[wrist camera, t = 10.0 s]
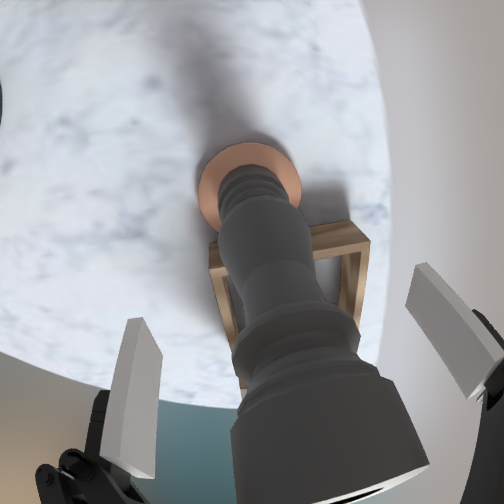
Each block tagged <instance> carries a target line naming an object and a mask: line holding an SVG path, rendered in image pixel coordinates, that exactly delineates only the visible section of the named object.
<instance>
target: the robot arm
mask: <svg viewBox="0 0 504 504" xmlns="http://www.w3.org/2000/svg"><path fill="white" fill-rule="evenodd" d="M1 115H2V94H1V87H0V123H1ZM405 307H406V308H407V309H408V311H409V312H410V313H411V315H412V316H413V318H414V319H415V320H416V322H417V323H418V325H419V326H420V327H421V329H422V330H423V332H424V333H425V335H426V336H427V338H428V339H429V340H430V342H431V343H432V345H433V346H434V348H435V349H436V351H437V352H438V354H439V355H440V357H441V358H442V360H443V361H444V363H445V365H446V366H447V367H448V369H449V371H450V372H451V374H452V376H453V377H454V379H455V381H456V382H457V384H458V385H459V387H460V389H461V390H462V392H463V394H464V395H465V397H466V399H468V398H470V397H471V396H473V395H474V394H476V393H477V392H478V391H479V390H480V389H481V388H482V387H483V385H484V386H485V387H486V389H485V390H484V391H483V392H482V393H481V395H480V396H479V397H478V398H477V401H476V402H477V403H478V402H479V401H480V400H481V399H482V398H483V400H482V401H481V403H482V412H481V420H480V427H479V433H478V438H477V443H476V448H475V453H474V457H473V461H472V465H471V469H470V473H469V477H468V480H467V483H466V487H465V490H464V493H463V496H462V499H461V502H460V504H504V340H503V338H502V337H501V336H500V335H499V333H498V332H497V331H496V330H494V327H493V326H492V325H491V324H489V321H488V320H487V319H486V318H485V316H484V315H483V314H481V313H480V312H478V311H477V310H475V309H474V310H471V309H470V308H469V307H468V306H467V305H466V304H465V302H464V301H463V300H462V299H461V298H460V297H459V296H458V295H457V294H456V292H455V291H454V290H453V289H452V288H451V287H450V286H449V285H448V284H447V283H446V282H445V281H444V280H443V279H442V278H441V276H440V275H439V274H438V273H437V272H436V271H435V270H434V269H433V268H432V267H431V266H430V265H429V264H428V263H427V262H426V263H422V264H418V265H415V269H414V274H413V278H412V282H411V286H410V290H409V294H408V297H407V301H406V305H405ZM162 359H163V355H162V353H161V351H160V349H159V347H158V346H157V344H156V342H155V340H154V338H153V336H152V334H151V332H150V330H149V328H148V326H147V325H146V323H145V321H144V319H143V317H141V318H133V319H128V321H127V324H126V328H125V332H124V335H123V339H122V343H121V347H120V351H119V355H118V359H117V363H116V367H115V372H114V376H113V381H112V385H111V390H100V392H99V393H98V395H97V397H96V398H95V400H94V404H93V409H92V414H91V418H90V421H91V422H90V423H89V428H88V434H87V439H86V445H85V451H84V453H83V452H81V451H80V450H78V449H72V448H71V449H68V450H66V451H65V452H63V454H62V455H61V457H60V459H59V468H55V467H53V466H51V465H49V464H42V465H41V466H39V468H38V469H37V470H36V474H35V478H36V485H37V489H38V493H39V497H40V501H41V504H150V503H149V502H148V500H147V499H146V498H145V497H144V496H143V494H142V493H141V492H140V491H139V490H138V488H137V487H136V486H135V485H134V483H133V482H132V481H131V480H130V476H131V475H130V474H132V475H133V476H135V477H137V478H149V479H155V445H156V427H157V411H158V399H159V388H160V378H161V368H162Z"/></svg>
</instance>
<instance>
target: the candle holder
mask: <svg viewBox="0 0 504 504" xmlns="http://www.w3.org/2000/svg"><path fill="white" fill-rule="evenodd" d="M218 212H219V218H220V220H221V222H222V224H221V228H220V231H219V235H218V247H219V252H220V257H221V260H222V262H223V264H224V266H225V268H226V270H227V272H228V274H229V276H230V278H231V280H232V282H233V284H234V286H235V288H236V290H237V292H238V294H239V296H240V298H241V300H242V302H243V310H244V319H245V328H244V329H243V330H242V331H241V332H240V333H239V335H238V337H237V340H236V343H235V345H234V348H233V351H232V363H233V367H234V370H235V374H236V376H237V377H239V378H240V379H241V380H242V381H243V382H245V383H246V384H247V385H248V388H247V393H246V395H245V397H244V398H243V400H242V402H241V404H240V406H239V408H238V410H237V413H238V419H237V420H236V422H235V424H234V425H233V427H232V429H231V430H230V432H231V445H232V457H233V468H234V478H235V488H236V497H237V504H351V503H354V502H357V501H360V500H363V499H365V498H369V497H371V496H374V495H376V494H378V493H381V492H383V491H386V490H388V489H390V488H392V487H395V486H396V485H399V484H401V483H403V482H405V481H406V480H408V479H410V478H412V477H414V476H416V475H417V474H419V473H420V472H422V471H423V470H425V469H426V468H428V467H429V464H430V463H429V461H428V458H427V456H426V453H425V451H424V449H423V446H422V444H421V442H420V439H419V437H418V435H417V433H416V430H415V428H414V426H413V423H412V421H411V419H410V416H409V414H408V412H407V410H406V408H405V406H404V403H403V401H402V399H401V397H400V395H399V393H398V391H397V389H396V387H395V385H394V383H393V381H391V380H389V379H386V378H384V377H381V376H380V374H379V371H378V369H377V367H375V366H373V365H372V364H369V363H367V362H365V361H363V360H361V359H360V358H359V357H358V355H357V354H356V353H357V350H358V346H359V341H360V337H361V335H360V333H359V330H358V328H357V325H356V323H355V321H354V319H353V317H352V316H351V315H350V314H349V313H347V312H346V311H344V310H343V309H341V308H340V307H338V306H336V305H335V304H333V303H327V302H326V300H325V298H324V295H323V293H322V291H321V289H320V287H319V285H318V283H317V281H316V275H315V266H314V258H313V250H312V241H311V233H310V228H309V226H308V224H307V222H306V220H305V218H304V216H303V214H302V213H301V211H300V210H298V209H297V208H296V207H295V206H293V205H292V204H291V203H290V202H289V196H288V194H287V192H286V190H285V188H284V186H283V184H282V183H281V182H280V180H279V179H278V177H277V176H276V175H275V174H274V173H273V172H272V171H270V170H269V169H268V168H266V167H264V166H260V165H256V164H247V165H240V166H238V167H237V168H235V169H233V170H231V171H230V172H228V173H227V175H226V176H225V177H224V179H223V180H222V181H221V183H220V187H219V191H218Z"/></svg>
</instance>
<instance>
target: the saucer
mask: <svg viewBox="0 0 504 504" xmlns="http://www.w3.org/2000/svg"><path fill="white" fill-rule="evenodd" d="M247 164H256V165H260V166H264V167H266V168H268V169H269V170H270V171H272V172H273V173H274V174H275V175H276V176H277V177H278V179H279V180H280V182H281V183H282V184H283V186H284V188H285V190H286V192H287V194H288V196H289V202H290V203H291V204H292V205H293V206H295V207H296V208H297V209H298V207H299V204H300V200H301V182H300V178H299V175H298V173H297V170H296V169H295V167H294V165H293V164H292V163H291V162H290V160H289V159H288V158H287V157H286V156H284V155H283V154H282V153H281V152H279V151H278V150H276V149H275V148H273V147H271V146H268V145H265V144H261V143H256V142H246V143H239V144H235V145H232V146H229V147H227V148H225V149H223V150H222V151H220V152H219V153H218V154H216V155H215V156H214V157H213V158H212V159H211V160H210V162H209V163H208V164H207V166H206V167H205V169H204V171H203V173H202V176H201V179H200V183H199V189H198V200H199V206H200V209H201V212H202V214H203V216H204V218H205V220H206V221H207V222H208V224H209V225H210V226H211V227H212V228H213V229H214V230H215V231H217V232H218V233H219V231H220V228H221V224H222V222H221V220H220V218H219V212H218V191H219V187H220V183H221V181H222V180H223V179H224V177H225V176H226V175H227V173H228V172H230V171H231V170H233V169H235V168H237V167H238V166H240V165H247Z"/></svg>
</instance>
